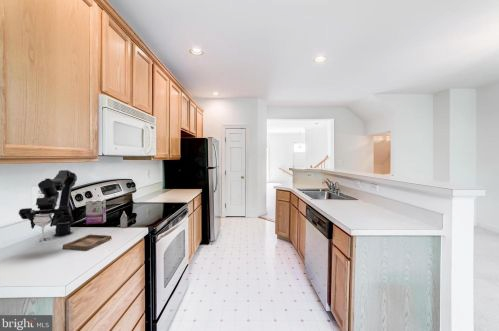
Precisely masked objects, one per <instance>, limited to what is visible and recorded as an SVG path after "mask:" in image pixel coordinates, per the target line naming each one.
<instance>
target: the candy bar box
mask: <svg viewBox="0 0 499 331" xmlns="http://www.w3.org/2000/svg"><path fill="white" fill-rule="evenodd" d="M106 203H107V200H106V199H99V200H98V199H97V200H96V199H94V200H92V199H91V200H86V201H85V224H86V225H95V224H97V225H98V224H104V223H106V222H107V206H106V205H107V204H106Z"/></svg>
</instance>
